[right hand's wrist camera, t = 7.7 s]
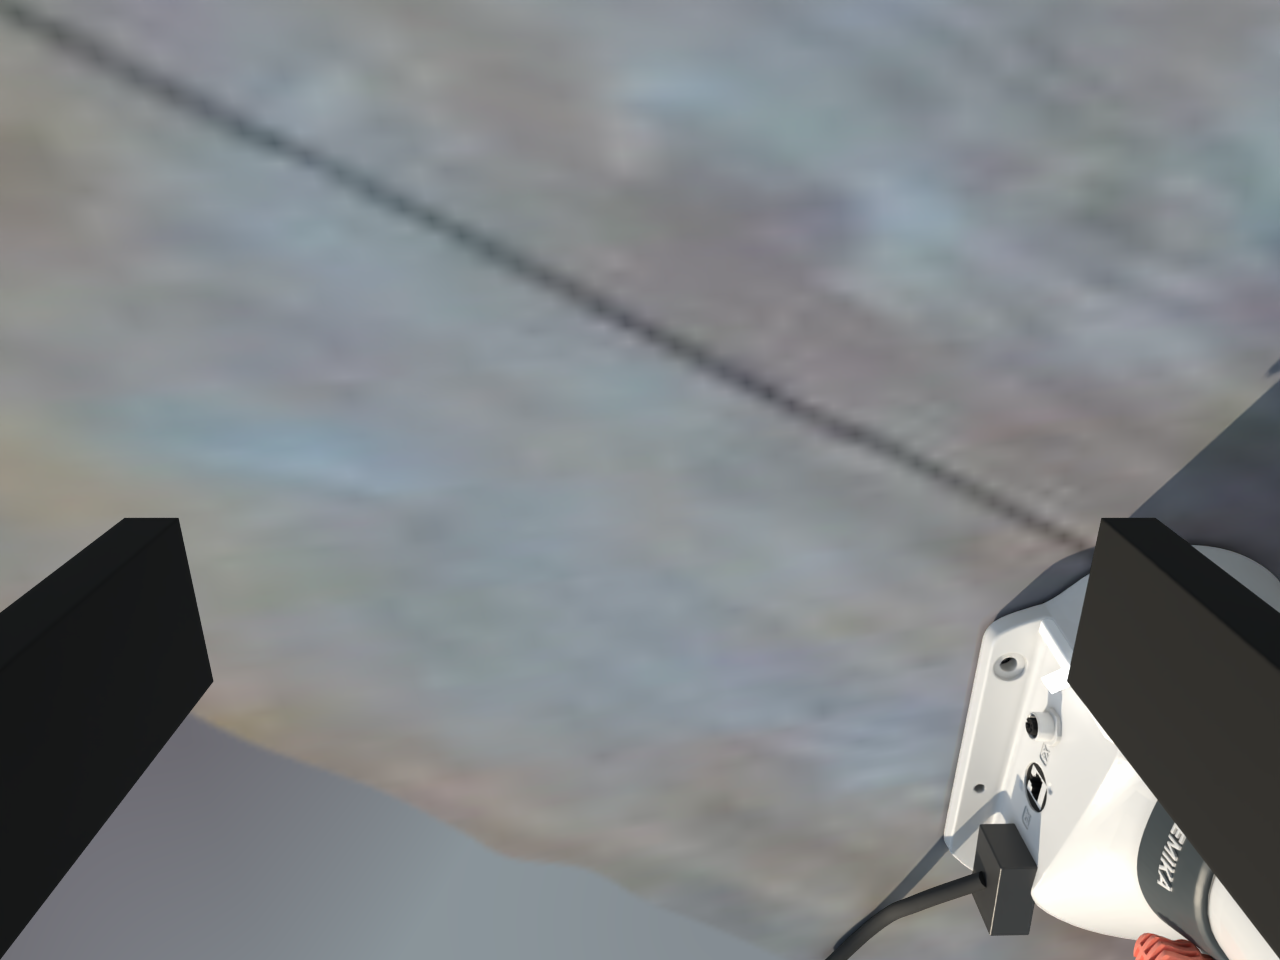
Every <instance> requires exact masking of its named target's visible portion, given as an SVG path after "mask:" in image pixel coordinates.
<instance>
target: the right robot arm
mask: <svg viewBox="0 0 1280 960" xmlns="http://www.w3.org/2000/svg"><path fill="white" fill-rule="evenodd" d="M212 683H213V677H212V673H211V668H210V663H209V659H208V654H207V649H206V644H205V640H204V635H203V630H202V626H201V621H200V616H199V612H198V607H197V602H196V598H195V593H194V588H193V584H192V579H191V574H190V570H189V565H188V560H187V556H186V551H185V546H184V542H183V537H182V532H181V528H180V523H179V518H124V519H123V520H121V521H120V522H119V523H117V524H116V525H115V526H113V527H112V528H111V529H109V530H108V531H107V532H106V533H104V534H103V535H102V536H100V537H99V538H98V539H96V540H95V541H94V542H92V543H91V544H90V545H88V546H87V547H86V548H85V549H83V550H82V551H81V552H79V553H78V554H77V555H75V556H74V557H73V558H71V559H70V560H69V561H68V562H66V563H65V564H64V565H62V566H61V567H60V568H58V569H57V570H56V571H54V572H53V573H52V574H50V575H49V576H48V577H47V578H45V579H44V580H43V581H41V582H40V583H39V584H37V585H36V586H35V587H33V588H32V589H31V590H30V591H28V592H27V593H26V594H24V595H23V596H22V597H20V598H19V599H18V600H16V601H15V602H14V603H12V604H11V605H10V606H9V607H7V608H6V609H5V610H3V611H2V612H1V613H0V959H1V958H2V957H3V955H4V954H5V953H6V951H7V950H8V949H9V947H10V946H11V945H12V943H13V942H14V941H15V939H16V938H17V937H18V936H19V934H20V933H21V932H22V930H23V929H24V928H25V926H26V925H27V924H28V923H29V921H30V920H31V919H32V917H33V916H34V915H35V913H36V912H37V911H38V909H39V908H40V907H41V906H42V904H43V903H44V902H45V900H46V899H47V898H48V897H49V895H50V894H51V893H52V891H53V890H54V889H55V887H56V886H57V885H58V883H59V882H60V881H61V879H62V878H63V877H64V876H65V874H66V873H67V872H68V870H69V869H70V868H71V866H72V865H73V864H74V863H75V861H76V860H77V859H78V857H79V856H80V855H81V853H82V852H83V851H84V850H85V848H86V847H87V846H88V844H89V843H90V842H91V840H92V839H93V838H94V836H95V835H96V834H97V833H98V831H99V830H100V829H101V827H102V826H103V825H104V823H105V822H106V821H107V819H108V818H109V817H110V816H111V814H112V813H113V812H114V810H115V809H116V808H117V806H118V805H119V804H120V803H121V801H122V800H123V799H124V797H125V796H126V795H127V793H128V792H129V791H130V790H131V788H132V787H133V786H134V784H135V783H136V782H137V780H138V779H139V778H140V776H141V775H142V774H143V773H144V771H145V770H146V769H147V767H148V766H149V765H150V763H151V762H152V761H153V760H154V758H155V757H156V756H157V754H158V753H159V752H160V750H161V749H162V748H163V746H164V745H165V744H166V743H167V741H168V740H169V739H170V737H171V736H172V735H173V733H174V732H175V731H176V729H177V728H178V727H179V726H180V724H181V723H182V722H183V720H184V719H185V718H186V716H187V715H188V714H189V713H190V711H191V710H192V709H193V707H194V706H195V705H196V703H197V702H198V701H199V699H200V698H201V697H202V696H203V694H204V693H205V692H206V690H207V689H208V688H209V686H210V685H211V684H212ZM1067 683H1068V684H1069V685H1070V686H1071V688H1072V689H1073V690H1074V692H1075V693H1076V694H1077V696H1078V697H1079V698H1080V699H1081V701H1082V702H1083V703H1084V705H1085V706H1086V707H1087V709H1088V710H1089V711H1090V713H1091V714H1092V715H1093V716H1094V718H1095V719H1096V720H1097V722H1098V723H1099V724H1100V726H1101V727H1102V728H1103V729H1104V731H1105V732H1106V733H1107V735H1108V736H1109V737H1110V739H1111V740H1112V741H1113V743H1114V744H1115V745H1116V746H1117V748H1118V749H1119V750H1120V752H1121V753H1122V754H1123V756H1124V757H1125V758H1126V760H1127V761H1128V762H1129V763H1130V765H1131V766H1132V767H1133V769H1134V770H1135V771H1136V773H1137V774H1138V775H1139V776H1140V778H1141V779H1142V780H1143V782H1144V783H1145V784H1146V786H1147V787H1148V788H1149V790H1150V791H1151V792H1152V793H1153V795H1154V796H1155V797H1156V799H1157V800H1158V801H1159V803H1160V804H1161V805H1162V806H1163V808H1164V809H1165V810H1166V812H1167V813H1168V814H1169V816H1170V817H1171V818H1172V820H1173V821H1174V822H1175V823H1176V825H1177V826H1178V827H1179V829H1180V830H1181V831H1182V833H1183V834H1184V835H1185V836H1186V838H1187V839H1188V840H1189V842H1190V843H1191V844H1192V846H1193V847H1194V848H1195V850H1196V851H1197V852H1198V853H1199V855H1200V856H1201V857H1202V859H1203V860H1204V861H1205V863H1206V864H1207V865H1208V866H1209V868H1210V869H1211V870H1212V872H1213V873H1214V874H1215V876H1216V877H1217V878H1218V880H1219V881H1220V882H1221V883H1222V885H1223V886H1224V887H1225V889H1226V890H1227V891H1228V893H1229V894H1230V895H1231V897H1232V898H1233V899H1234V900H1235V902H1236V903H1237V904H1238V906H1239V907H1240V908H1241V910H1242V911H1243V912H1244V913H1245V915H1246V916H1247V917H1248V919H1249V920H1250V921H1251V923H1252V924H1253V925H1254V927H1255V928H1256V929H1257V930H1258V932H1259V933H1260V934H1261V936H1262V937H1263V938H1264V940H1265V941H1266V942H1267V943H1268V945H1269V946H1270V947H1271V949H1272V950H1273V951H1274V953H1275V954H1276V955H1277V957H1278V958H1279V959H1280V613H1279V612H1278V611H1277V610H1275V609H1274V608H1273V607H1271V606H1270V605H1269V604H1268V603H1266V602H1265V601H1264V600H1262V599H1261V598H1260V597H1258V596H1257V595H1256V594H1254V593H1253V592H1252V591H1250V590H1249V589H1248V588H1247V587H1245V586H1244V585H1243V584H1241V583H1240V582H1239V581H1237V580H1236V579H1235V578H1233V577H1232V576H1231V575H1230V574H1228V573H1227V572H1226V571H1224V570H1223V569H1222V568H1220V567H1219V566H1218V565H1216V564H1215V563H1214V562H1212V561H1211V560H1210V559H1209V558H1207V557H1206V556H1205V555H1203V554H1202V553H1201V552H1199V551H1198V550H1197V549H1195V548H1194V547H1193V546H1192V545H1190V544H1189V543H1188V542H1186V541H1185V540H1184V539H1182V538H1181V537H1180V536H1178V535H1177V534H1176V533H1174V532H1173V531H1172V530H1171V529H1169V528H1168V527H1167V526H1165V525H1164V524H1163V523H1161V522H1160V521H1159V520H1157V519H1156V518H1101V523H1100V528H1099V532H1098V537H1097V542H1096V546H1095V551H1094V556H1093V560H1092V565H1091V570H1090V574H1089V579H1088V584H1087V588H1086V593H1085V598H1084V602H1083V607H1082V612H1081V616H1080V621H1079V626H1078V630H1077V635H1076V640H1075V644H1074V649H1073V654H1072V659H1071V663H1070V668H1069V673H1068V677H1067Z"/></svg>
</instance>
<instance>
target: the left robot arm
mask: <svg viewBox="0 0 1280 960" xmlns="http://www.w3.org/2000/svg"><path fill="white" fill-rule="evenodd" d="M1192 546H1193V547H1194V548H1195V549H1197V550H1198V551H1199V552H1201V553H1202V554H1203V555H1205V556H1206V557H1207V558H1209V559H1210V560H1211V561H1212V562H1214V563H1215V564H1216V565H1218V566H1219V567H1220V568H1222V569H1223V570H1224V571H1226V572H1227V573H1228V574H1230V575H1231V576H1232V577H1233V578H1235V579H1236V580H1237V581H1239V582H1240V583H1241V584H1243V585H1244V586H1245V587H1247V588H1248V589H1249V590H1250V591H1252V592H1253V593H1254V594H1256V595H1257V596H1258V597H1260V598H1261V599H1262V600H1264V601H1265V602H1266V603H1268V604H1269V605H1270V606H1271V607H1273V608H1274V609H1275V610H1277V611H1278V612H1279V613H1280V581H1279V580H1278V579H1277V578H1276V577H1275V576H1274V575H1273V574H1272V573H1271V572H1270V571H1268V570H1267V569H1266V568H1265V567H1263V566H1262V565H1260V564H1259V563H1257V562H1255V561H1254V560H1252V559H1250V558H1248V557H1246V556H1243V555H1241V554H1238V553H1235V552H1232V551H1229V550H1225V549H1222V548H1216V547H1211V546H1202V545H1192ZM1088 579H1089V574H1088V575H1086V576H1085V577H1083V578H1082V579H1080V580H1079V581H1077V582H1076V583H1075V584H1073V585H1072V586H1070V587H1069V588H1068V589H1066V590H1065V591H1063V592H1062V593H1061V594H1059V595H1058V596H1056V597H1054V598H1053V599H1051V600H1049V601H1047V602H1045V603H1043V604H1040V605H1036V606H1033V607H1030V608H1026V609H1023V610H1020V611H1017V612H1014V613H1011V614H1008V615H1006V616H1004V617H1001V618H1000V619H998V620H996V621H994V622H993V623H992V624H991V625H990V626H989V627H988V628H987V629H986V631H985V633H984V636H983V640H982V644H981V649H980V654H979V659H978V664H977V669H976V674H975V679H974V684H973V689H972V694H971V699H970V704H969V709H968V714H967V719H966V724H965V729H964V734H963V739H962V744H961V749H960V754H959V759H958V764H957V769H956V774H955V779H954V784H953V789H952V794H951V799H950V804H949V809H948V814H947V819H946V824H945V830H944V841H945V843H946V845H947V847H948V848H949V850H950V852H951V853H952V855H953V856H955V857H956V858H957V859H958V860H959V861H960V862H961V863H962V864H964V865H965V866H966V867H968V868H969V869H971V870H972V871H973V873H972V874H971V875H968V876H965V877H962V878H959V879H957V880H954V881H951V882H948V883H945V884H942V885H939V886H936V887H933V888H931V889H928V890H925V891H923V892H920V893H918V894H915V895H913V896H910V897H908V898H905V899H902V900H900V901H897V902H895V903H892V904H891V905H889V906H887V907H886V908H884V909H883V910H881V911H880V912H878V913H877V914H876V915H874V916H873V917H872V918H871V919H869V920H868V921H867V922H866V923H864V924H863V925H862V926H861V927H860V928H859V929H858V930H856V931H855V932H854V933H853V934H852V935H851V936H850V937H849V938H848V939H847V940H846V941H845V942H844V943H843V944H841V945H840V946H839V947H838V948H837V949H836V950H835V951H834V952H833V953H832V954H831V955H830V956H829V957H828V958H827V959H825V960H847V959H848V958H849V957H851V956H852V955H853V954H854V953H855V952H856V951H857V950H858V949H859V948H860V947H861V946H862V945H863V944H865V943H866V942H867V941H868V940H869V939H870V938H871V937H873V936H874V935H875V934H876V933H878V932H879V931H880V930H882V929H883V928H884V927H886V926H887V925H889V924H890V923H892V922H893V921H895V920H897V919H899V918H902V917H904V916H907V915H910V914H913V913H916V912H919V911H921V910H924V909H927V908H929V907H932V906H935V905H938V904H941V903H944V902H947V901H950V900H953V899H956V898H959V897H962V896H965V895H968V894H971V893H972V895H973V897H974V900H975V902H976V904H977V907H978V909H979V911H980V913H981V916H982V918H983V920H984V923H985V925H986V927H987V930H988V932H989V934H990V935H991V936H1000V935H1028V934H1029V931H1030V925H1031V920H1032V914H1033V909H1034V904H1036V905H1037V906H1039V907H1040V908H1041V909H1043V910H1044V911H1045V912H1047V913H1049V914H1050V915H1052V916H1054V917H1056V918H1058V919H1060V920H1062V921H1065V922H1067V923H1069V924H1072V925H1074V926H1077V927H1080V928H1083V929H1086V930H1090V931H1093V932H1097V933H1101V934H1105V935H1110V936H1115V937H1121V938H1127V939H1133V940H1137V941H1136V944H1135V948H1134V957H1136V960H1280V959H1279V958H1278V957H1277V955H1276V954H1275V953H1274V951H1273V950H1272V949H1271V947H1270V946H1269V945H1268V943H1267V942H1266V941H1265V940H1264V938H1263V937H1262V936H1261V934H1260V933H1259V932H1258V930H1257V929H1256V928H1255V927H1254V925H1253V924H1252V923H1251V921H1250V920H1249V919H1248V917H1247V916H1246V915H1245V913H1244V912H1243V911H1242V910H1241V908H1240V907H1239V906H1238V904H1237V903H1236V902H1235V900H1234V899H1233V898H1232V897H1231V895H1230V894H1229V893H1228V891H1227V890H1226V889H1225V887H1224V886H1223V885H1222V883H1221V882H1220V881H1219V880H1218V878H1217V877H1216V876H1215V874H1214V873H1213V872H1212V870H1211V869H1210V868H1209V866H1208V865H1207V864H1206V863H1205V861H1204V860H1203V859H1202V857H1201V856H1200V855H1199V853H1198V852H1197V851H1196V850H1195V848H1194V847H1193V846H1192V844H1191V843H1190V842H1189V840H1188V839H1187V838H1186V836H1185V835H1184V834H1183V833H1182V831H1181V830H1180V829H1179V827H1178V826H1177V825H1176V823H1175V822H1174V821H1173V820H1172V818H1171V817H1170V816H1169V814H1168V813H1167V812H1166V810H1165V809H1164V808H1163V806H1162V805H1161V804H1160V803H1159V801H1158V800H1157V799H1156V797H1155V796H1154V795H1153V793H1152V792H1151V791H1150V790H1149V788H1148V787H1147V786H1146V784H1145V783H1144V782H1143V780H1142V779H1141V778H1140V776H1139V775H1138V774H1137V773H1136V771H1135V770H1134V769H1133V767H1132V766H1131V765H1130V763H1129V762H1128V761H1127V760H1126V758H1125V757H1124V756H1123V754H1122V753H1121V752H1120V750H1119V749H1118V748H1117V746H1116V745H1115V744H1114V743H1113V741H1112V740H1111V739H1110V737H1109V736H1108V735H1107V733H1106V732H1105V731H1104V729H1103V728H1102V727H1101V726H1100V724H1099V723H1098V722H1097V720H1096V719H1095V718H1094V716H1093V715H1092V714H1091V713H1090V711H1089V710H1088V709H1087V707H1086V706H1085V705H1084V703H1083V702H1082V701H1081V699H1080V698H1079V697H1078V696H1077V694H1076V693H1075V692H1074V690H1073V689H1072V688H1071V686H1070V685H1069V684H1068V683H1067V677H1068V673H1069V668H1070V663H1071V659H1072V654H1073V649H1074V644H1075V640H1076V635H1077V630H1078V626H1079V621H1080V616H1081V612H1082V607H1083V602H1084V598H1085V593H1086V588H1087V584H1088ZM1008 657H1012V658H1011V660H1010V661H1009V662H1007V663H1004V664H1001V662H1002V661H1003V660H1004V659H1005V658H1008ZM1195 945H1196V946H1197V947H1198V948H1200V949H1201V951H1202V952H1203V954H1201V953H1200V951H1199V949H1198V948H1197V947H1196V946H1195Z"/></svg>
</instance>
